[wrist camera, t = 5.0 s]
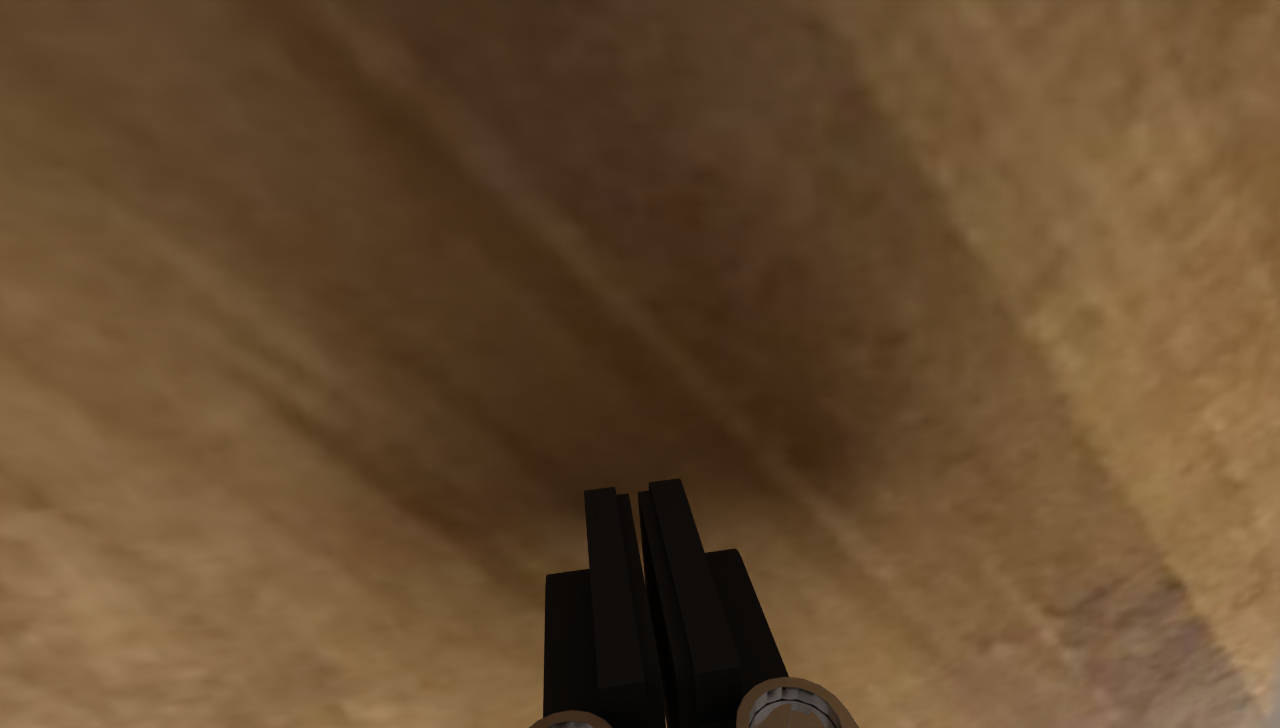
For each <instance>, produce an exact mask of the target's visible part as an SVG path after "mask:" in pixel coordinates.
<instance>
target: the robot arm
mask: <svg viewBox="0 0 1280 728" xmlns="http://www.w3.org/2000/svg"><path fill="white" fill-rule="evenodd" d="M584 497H585V511H586V525H587V538H588V552H589V566H590V569H585V570H578V571H570V572H563V573H556V574H549V575H547V576H546V590H545V644H544V698H543V718H542V719H540V720H538V721H537V722H535V723H534V724H533V725H532V726H530V727H529V728H666V723H667V728H859V727H858V725H857V724H856V722H855V721H854V719H853V718H852V716H851V715H850V713H849V712H848V710H847V709H846V708H845V706H844V705H843V704H842V703H841V702H840V701H839V700H838V698H837V697H836V696H835V695H833V694H832V693H831V692H829V691H828V690H826V689H825V688H823V687H822V686H820V685H818V684H815V683H813V682H810V681H807V680H805V679H800V678H792V677H789V676H788V673H787V671H786V668H785V666H784V663H783V661H782V658H781V656H780V653H779V651H778V648H777V646H776V643H775V641H774V638H773V636H772V633H771V631H770V628H769V626H768V623H767V621H766V618H765V616H764V613H763V611H762V608H761V606H760V603H759V601H758V598H757V596H756V593H755V591H754V588H753V586H752V583H751V581H750V578H749V576H748V573H747V571H746V568H745V566H744V563H743V560H742V558H741V556H740V554H739V552H738V551H737V550H736V549H729V550H722V551H715V552H708V553H704V550H703V547H702V543H701V540H700V537H699V534H698V531H697V528H696V525H695V522H694V519H693V516H692V513H691V509H690V506H689V503H688V500H687V497H686V494H685V491H684V488H683V485H682V482H681V479H671V480H663V481H656V482H649V491H644V492H638V502H639V514H640V526H641V538H642V550H643V561H644V573H645V582H644V576H643V571H642V565H641V560H640V554H639V549H638V543H637V538H636V532H635V527H634V521H633V516H632V510H631V505H630V499H629V494H621V495H616V489H615V487H609V488H601V489H593V490H585V491H584ZM645 585H646V587H645ZM665 717H666V723H665Z"/></svg>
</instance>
